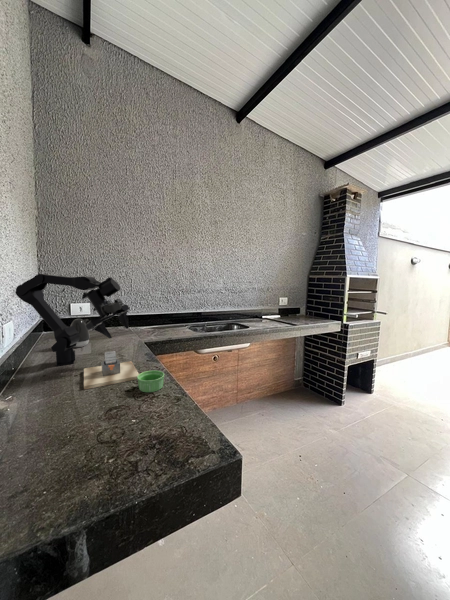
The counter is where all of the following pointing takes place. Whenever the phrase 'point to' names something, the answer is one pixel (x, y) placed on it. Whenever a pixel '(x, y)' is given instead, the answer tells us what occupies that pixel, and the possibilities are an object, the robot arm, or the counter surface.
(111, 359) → the steel post
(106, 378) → the base
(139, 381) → the ramekin
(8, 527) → the counter surface
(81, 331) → the pump dispenser
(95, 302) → the robot arm
